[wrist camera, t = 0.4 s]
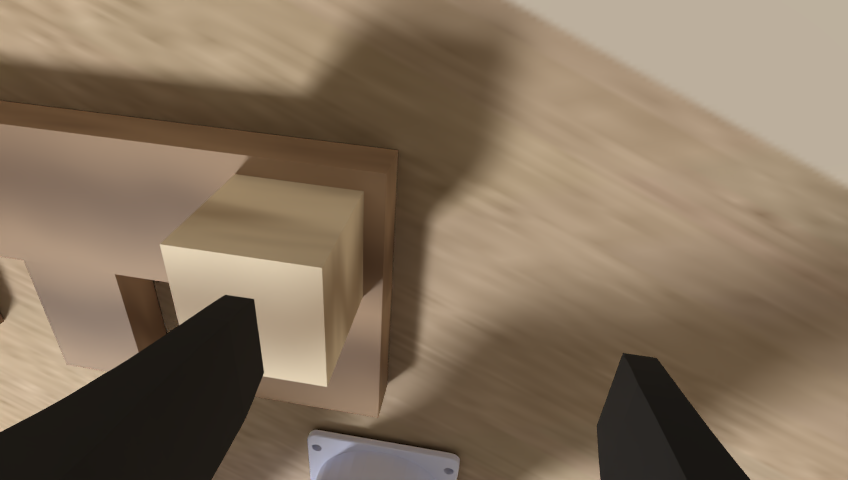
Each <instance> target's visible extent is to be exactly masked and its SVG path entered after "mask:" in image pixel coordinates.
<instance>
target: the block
mask: <svg viewBox="0 0 848 480" xmlns="http://www.w3.org/2000/svg"><path fill="white" fill-rule="evenodd" d="M363 227H364V191H358V190H350V189H343V188H335V187H328V186H320V185H313V184H305V183H298V182H290V181H282V180H275V179H267V178H260V177H252V176H245V175H237V174H234V175H233V176H232V177H231V178H230V179H229V180H228V181H227V182H226V183H225V184H224V185H223V186H222V187H221V188H219V189H218V190H217V191H216V192H215V193H214V194H213V195H212V196H211V197H210V198H209V199H208V200H207V201H205V202H204V203H203V204H202V205H201V206H200V207H199V208H198V209H197V210H196V211H195V212H194V213H193V214H192V215H190V216H189V217H188V218H187V219H186V220H185V221H184V222H183V223H182V224H181V225H180V226H179V227H178V228H177V229H175V230H174V231H173V232H172V233H171V234H170V235H169V236H168V237H167V238H166V239H165V240H164V241H163V242H161V243H160V248H161V252H162V256H163V260H164V265H165V269H166V273H167V277H168V281H169V285H170V290H171V294H172V298H173V302H174V306H175V310H176V315H177V319H178V323H179V325H180V324H182V323H183V322H185V321H186V320H188V319H189V318H191V317H192V316H194V315H195V314H197V313H198V312H199V311H201V310H202V309H204V308H205V307H207V306H208V305H210V304H211V303H213V302H214V301H216V300H218V299H219V298H221V297H222V296H224V295H231V296H238V297H244V298H251V299H254V302H255V309H256V316H257V324H258V331H259V339H260V346H261V353H262V361H263V368H264V374H263V376H264V377H270V378H276V379H282V380H288V381H294V382H300V383H306V384H312V385H318V386H324V387H327V386H328V383H329V381H330V378H331V376H332V373H333V371H334V368H335V366H336V363H337V361H338V358H339V356H340V353H341V351H342V348H343V346H344V343H345V341H346V338H347V336H348V333H349V331H350V328H351V325H352V323H353V320H354V318H355V315H356V313H357V310H358V308H359V305H360V303H361V300H362V298H363Z"/></svg>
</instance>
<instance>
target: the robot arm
mask: <svg viewBox="0 0 848 480" xmlns="http://www.w3.org/2000/svg"><path fill="white" fill-rule="evenodd" d="M263 374H264V368H263V361H262V353H261V346H260V339H259V331H258V324H257V316H256V309H255V302H254V299H251V298H244V297H238V296H231V295H224V296H222V297H221V298H219V299H218V300H216V301H214V302H213V303H211V304H210V305H208V306H207V307H205V308H204V309H202V310H201V311H199V312H198V313H197V314H195V315H194V316H192V317H191V318H189V319H188V320H186V321H185V322H183V323H182V324H180V325H179V326H177V327H176V328H175V329H173V330H172V331H170V332H169V333H167V334H166V335H164V336H163V337H161V338H160V339H158V340H157V341H155V342H154V343H152V344H151V345H149V346H148V347H146V348H145V349H143V350H142V351H140V352H139V353H137V354H135V355H134V356H132V357H131V358H129V359H128V360H126V361H125V362H123V363H121V364H120V365H118V366H116V367H115V368H113V369H112V370H110V371H108V372H107V373H105V374H103V375H102V376H100V377H98V378H97V379H95V380H94V381H92V382H90V383H89V384H87V385H85V386H84V387H82V388H80V389H79V390H77V391H75V392H74V393H72V394H70V395H69V396H67V397H65V398H63V399H62V400H60V401H58V402H56V403H55V404H53V405H51V406H49V407H47V408H46V409H44V410H42V411H40V412H38V413H36V414H34V415H33V416H31V417H29V418H27V419H25V420H23V421H21V422H19V423H17V424H15V425H13V426H11V427H9V428H8V429H6V430H4V431H2V432H0V480H211V479H212V478H213V476H214V474H215V472H216V470H217V469H218V467H219V465H220V463H221V462H222V460H223V458H224V456H225V455H226V453H227V451H228V449H229V447H230V446H231V444H232V442H233V440H234V438H235V437H236V435H237V433H238V431H239V429H240V428H241V426H242V424H243V422H244V420H245V418H246V416H247V414H248V411H249V409H250V406H251V404H252V402H253V399H254V397H255V394H256V392H257V389H258V387H259V384H260V382H261V379H262V377H263ZM597 436H598V453H599V466H600V479H601V480H750V479H749V477H748V476H747V475H746V474H745V473H744V471H743V470H742V469H741V468H740V467H739V465H738V464H737V463H736V462H735V460H734V459H733V458H732V457H731V455H730V454H729V453H728V452H727V450H726V449H725V448H724V447H723V445H722V444H721V443H720V441H719V440H718V439H717V438H716V436H715V435H714V434H713V433H712V431H711V430H710V429H709V427H708V426H707V425H706V423H705V422H704V421H703V419H702V418H701V417H700V415H699V414H698V413H697V411H696V410H695V409H694V408H693V406H692V405H691V404H690V402H689V401H688V399H687V398H686V397H685V395H684V394H683V393H682V391H681V390H680V389H679V387H678V386H677V385H676V383H675V382H674V381H673V379H672V378H671V377H670V375H669V374H668V373H667V371H666V370H665V369H664V367H663V366H662V365H661V363H660V362H659V361H658V359H657V358H653V357H646V356H639V355H632V354H625V353H623V355H622V357H621V360H620V363H619V366H618V368H617V371H616V374H615V377H614V380H613V382H612V385H611V388H610V391H609V394H608V396H607V399H606V402H605V405H604V407H603V410H602V413H601V416H600V419H599V421H598V424H597ZM307 441H308V454H309V467H310V480H457V477H458V471H459V465H460V459H459V457H458V456H457V455H455V454H453V453H448V452H442V451H437V450H431V449H425V448H420V447H414V446H408V445H402V444H397V443H391V442H385V441H379V440H374V439H368V438H362V437H356V436H351V435H345V434H339V433H333V432H328V431H322V430H312V431H311V432H310V433H309V436H308V439H307Z"/></svg>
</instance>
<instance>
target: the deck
mask: <svg viewBox="0 0 848 480" xmlns="http://www.w3.org/2000/svg"><path fill="white" fill-rule="evenodd" d="M397 166H398V150H392V149H384V148H376V147H368V146H360V145H352V144H344V143H336V142H328V141H320V140H312V139H304V138H296V137H288V136H280V135H272V134H264V133H256V132H248V131H240V130H232V129H224V128H216V127H208V126H200V125H192V124H184V123H176V122H168V121H160V120H152V119H144V118H136V117H128V116H120V115H112V114H104V113H96V112H88V111H80V110H72V109H64V108H56V107H48V106H40V105H31V104H23V103H15V102H7V101H0V257H5V258H12V259H18V260H24V262H25V265H26V267H27V270H28V272H29V274H30V277H31V279H32V282H33V284H34V287H35V289H36V291H37V294H38V296H39V299H40V301H41V304H42V306H43V308H44V311H45V313H46V316H47V318H48V320H49V323H50V325H51V328H52V330H53V333H54V335H55V337H56V340H57V342H58V345H59V347H60V350H61V352H62V354H63V357H64V359H65V362H66V364H67V365H72V366H78V367H83V368H89V369H95V370H101V371H107V372H108V371H110V370H112V369H113V368H115V367H116V366H118V365H120V364H121V363H123V362H125V361H126V360H128V359H129V358H131V357H132V356H134V355H135V354H137V353H139V352H140V351H142V350H143V349H145V348H146V347H148V346H149V345H151V344H152V343H154V342H155V341H157V340H158V339H160V338H161V337H163V336H164V335H166V330H165V326H164V322H163V318H162V314H161V311H160V307H159V303H158V299H157V295H156V291H155V287H154V284H153V280H156V281H162V282H169V281H168V277H167V273H166V269H165V265H164V260H163V256H162V252H161V248H160V243H161V242H163V241H164V240H165V239H166V238H167V237H168V236H169V235H170V234H171V233H172V232H173V231H174V230H175V229H177V228H178V227H179V226H180V225H181V224H182V223H183V222H184V221H185V220H186V219H187V218H188V217H189V216H190V215H192V214H193V213H194V212H195V211H196V210H197V209H198V208H199V207H200V206H201V205H202V204H203V203H204V202H205V201H207V200H208V199H209V198H210V197H211V196H212V195H213V194H214V193H215V192H216V191H217V190H218V189H219V188H221V187H222V186H223V185H224V184H225V183H226V182H227V181H228V180H229V179H230V178H231V177H232V176H233V175H234V174H237V175H245V176H252V177H260V178H267V179H275V180H282V181H290V182H298V183H305V184H313V185H320V186H328V187H335V188H343V189H350V190H358V191H364V227H363V298H362V300H361V303H360V305H359V308H358V310H357V313H356V315H355V318H354V320H353V323H352V325H351V328H350V331H349V333H348V336H347V338H346V341H345V343H344V346H343V348H342V351H341V353H340V356H339V358H338V361H337V363H336V366H335V368H334V371H333V373H332V376H331V378H330V381H329V383H328V386H327V387H324V386H318V385H312V384H306V383H300V382H294V381H288V380H282V379H276V378H270V377H264V376H263V377H262V379H261V382H260V384H259V387H258V389H257V392H256V394H255V397H259V398H265V399H271V400H277V401H283V402H289V403H295V404H300V405H306V406H312V407H318V408H324V409H330V410H336V411H342V412H347V413H353V414H359V415H365V416H371V417H377V418H378V416H379V413H380V409H381V405H382V402H383V398H384V395H385V391H386V387H387V381H388V360H389V338H390V316H391V295H392V273H393V252H394V230H395V209H396V187H397ZM2 322H4V320H3V317H2V315H1V313H0V324H1V323H2Z"/></svg>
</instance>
